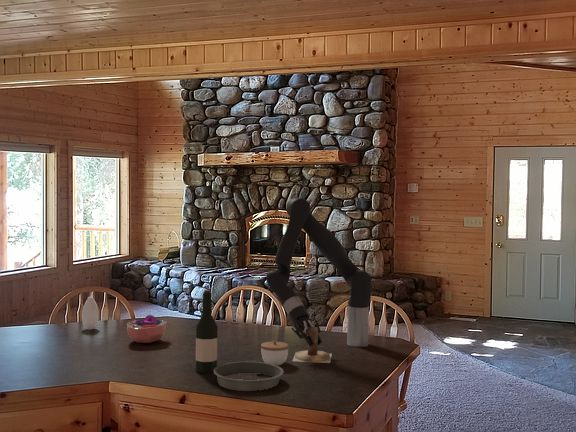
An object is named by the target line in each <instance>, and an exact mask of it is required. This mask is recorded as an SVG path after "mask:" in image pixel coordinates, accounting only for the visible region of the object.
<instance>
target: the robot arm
mask: <svg viewBox="0 0 576 432" xmlns="http://www.w3.org/2000/svg"><path fill="white" fill-rule="evenodd" d="M285 211H286V213H287V215H288V217H289V219H288V223H287V227H286V229H285V231H284V234H283V236H282V238H281V240H280V242H279V245H278V246H277V251H276V255H275V257H274V263H275V264H276V265H277V266H276V267H277V269H272V270H270V271H268V272H267V274H266V277H265V280H266V283H267V286H268V287H269V288H270V290H272V291H271V292H273V293H274V294H275V295H276V296H277V297H278V299H279V301H280V302H281V304H282V305H283V308H284V310H285V312H286V314H287V315H288V317H289V319H290V320H291V322H292V324H293V326H292V327H291V330H292V331H293V333H295V335H297V337H298V338H299V339H304V340H305V341H306V343H307V346H308V345H309V346H310V347H311V346H313V345H314V342H313V340H312V339H311V337H310V336H309V333H308V327H317V328H318V346H320V345H321V344H322V343H323V341H322V339H321V337H320V335H319V334H321V332H322V331H321V328H320V324H319V321H318V320H315V321H313V320H312V319H311V318H310V317H309V316H310V314H309V312H308V310H307V309H306V307H305V306H304V304H303V302H302V300H300V298H299V297H298V295H297V293H296V292H295V290H294V289H293V288H292V287H291V286H290V285H288V283H289V281H290V278H291V277H290V276H291V263H292V261H293V258H294V253H295V249H296V246H297V245H298V244H297V243H298V241H299V237H300V235H301V232H302V230H303V231H304V232H305V233H306V235H307V236H308V238H309V239H310V240H311V242H312V243H313V244H314V246H315V247H316V249H317V250H318V251H319V252H320V253H321V254H322V255H323V256H324V257H325V259H326V260H327V261H328V262H329V263H330V264H331V265H332V266H333V267H335V269H336V270H337V272H338V273H340V275H341V277H342V278H343V280H344V281H345V283H346V284H347V286H348V287H349V288H350V297H349V299H347V331H346V332H347V333H346V334H347V335H346V344H347V346H349V347H354V348H355V347H356V348H363V347H367V348H368V347H369V328H370V327H369V322H370V320H369V317H370V316H369V315H370V314H369V312H370V302H371V297H372V276H371V274H370V273H368V271H366V270H365V271H364V270H362V269H361V268H359V267H358V266H357V265H356V264H355V263H354V262H353V261H352V260H351V258H350V257H349V256H348V254H347V252H346V249H345V248H344V246H343V244H342V243H341V241H340V240H339V239H338V238H337V236H336V235H334V233H332V231H331V230H330V229H328V227H326V226H325V225H324V224H322V223H321V222H320V221H319V220H318V219H317V218H315V216H314V215H313V214H312V212H311V204H310V202H309V201H308V199H305V198H303V197H293V198H290V199H289V200H288V201H287V202H286V205H285Z"/></svg>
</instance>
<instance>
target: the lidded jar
mask: <svg viewBox="0 0 576 432" xmlns="http://www.w3.org/2000/svg"><path fill="white" fill-rule="evenodd" d="M260 347H261V348H260V352H261V353H260V354H261V357H262V360H263V363H269V364H273V365H276V366H281V365H283V364H284V363H285V362H286V360H287V358H288V354H289V344H288V343H286V342H284V341H283V342H282V341H277V340H275V339H273V341H266V342H262V343H261V344H260Z"/></svg>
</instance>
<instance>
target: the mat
mask: <svg viewBox="0 0 576 432" xmlns="http://www.w3.org/2000/svg"><path fill="white" fill-rule="evenodd" d="M329 354H330V359H329V360H326V361H321V362H317V363H320V364H321V363H322V364H323V363H324V364H331V362H332V361H331V360H332V354H333V353H329ZM291 362H296V363H297V362H300V363H309V362H308V361H302V360H298V359H296V358H295V354H294V356H293V358H292V361H291Z"/></svg>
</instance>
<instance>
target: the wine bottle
mask: <svg viewBox="0 0 576 432" xmlns="http://www.w3.org/2000/svg"><path fill="white" fill-rule="evenodd" d="M212 301H213V299H212V291H211V289H204V290H203V292H202V315H201V317H200V318H199V320H198V322H196V323H197V324H196V325H195V373H199V372H200V373H199V374H212V372H213V373H214V369H215V368H216V367H217V366H218V324H217V323H216V321H215V319H214V317H213V314H212Z"/></svg>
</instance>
